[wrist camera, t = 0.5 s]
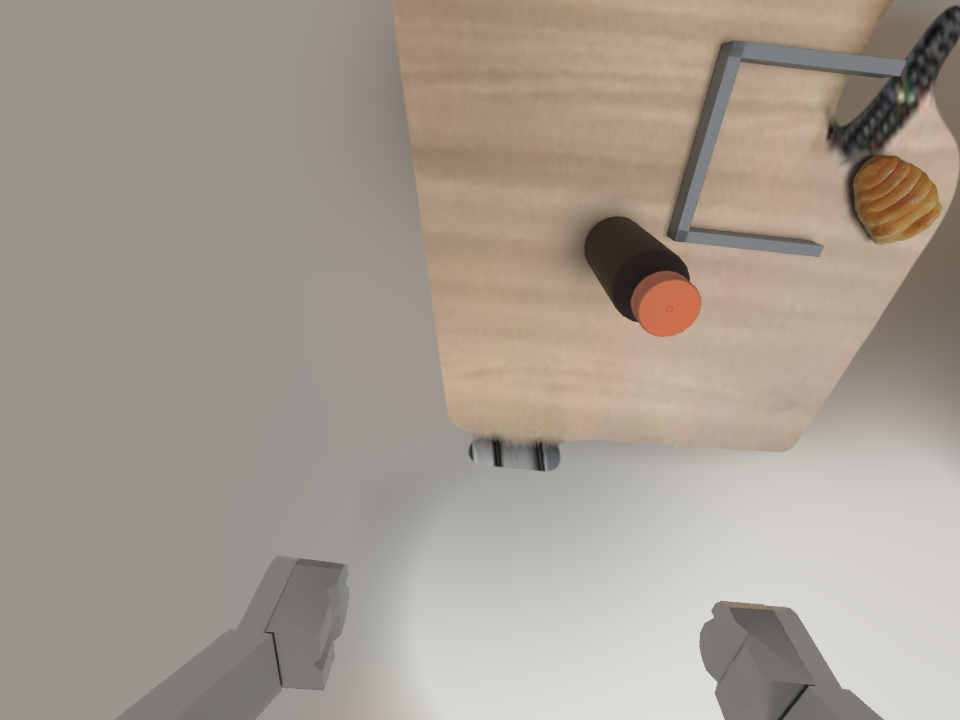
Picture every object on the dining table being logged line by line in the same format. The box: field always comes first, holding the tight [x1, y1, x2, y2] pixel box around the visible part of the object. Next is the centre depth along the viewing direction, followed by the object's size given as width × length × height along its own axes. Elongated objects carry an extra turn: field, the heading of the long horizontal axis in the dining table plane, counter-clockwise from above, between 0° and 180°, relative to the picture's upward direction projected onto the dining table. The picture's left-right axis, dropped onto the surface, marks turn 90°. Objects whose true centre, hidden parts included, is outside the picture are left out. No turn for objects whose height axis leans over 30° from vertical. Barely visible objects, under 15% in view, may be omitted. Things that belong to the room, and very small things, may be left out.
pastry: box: [853, 155, 942, 245], centre depth 49 cm, size 9×7×4 cm
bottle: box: [585, 217, 701, 337], centre depth 45 cm, size 7×7×20 cm
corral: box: [667, 41, 906, 257], centre depth 48 cm, size 18×16×2 cm
